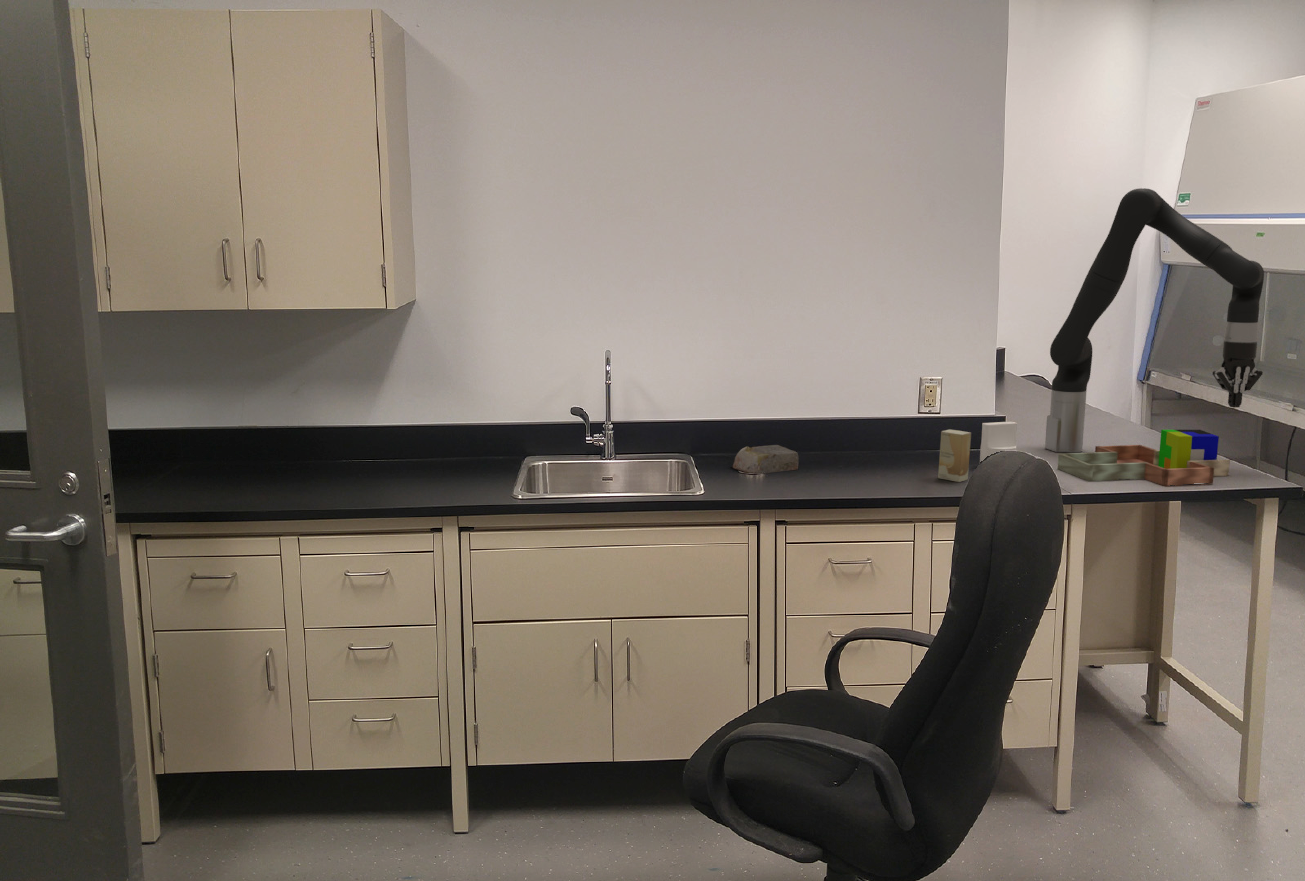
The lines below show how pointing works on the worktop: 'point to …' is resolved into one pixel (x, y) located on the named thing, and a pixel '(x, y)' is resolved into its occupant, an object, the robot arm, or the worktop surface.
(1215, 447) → the puzzle toy
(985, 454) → the base with upright slab
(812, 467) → the worktop surface
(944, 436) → the skincare box
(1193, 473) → the open sectioned tray
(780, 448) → the geological specimen
